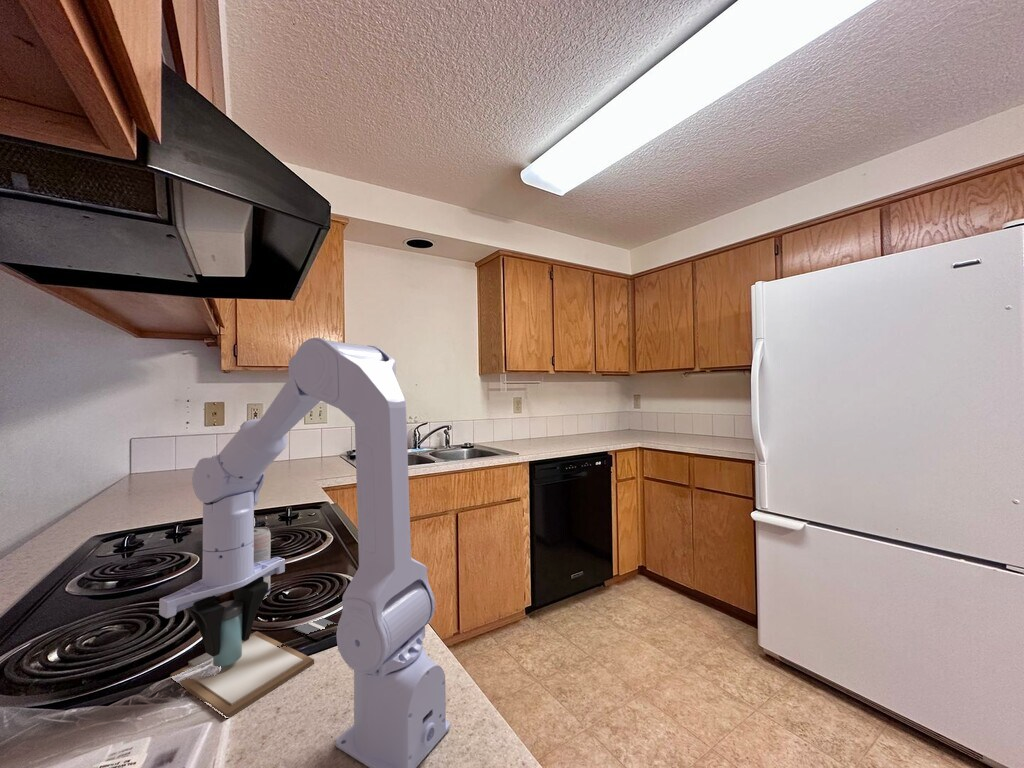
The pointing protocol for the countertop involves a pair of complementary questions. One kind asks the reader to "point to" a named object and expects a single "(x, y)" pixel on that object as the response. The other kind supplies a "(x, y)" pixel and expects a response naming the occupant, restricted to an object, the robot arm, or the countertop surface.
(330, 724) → the countertop surface
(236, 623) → the tumbler
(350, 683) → the countertop surface
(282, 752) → the countertop surface
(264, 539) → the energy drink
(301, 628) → the plate
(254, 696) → the clipboard
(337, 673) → the countertop surface
